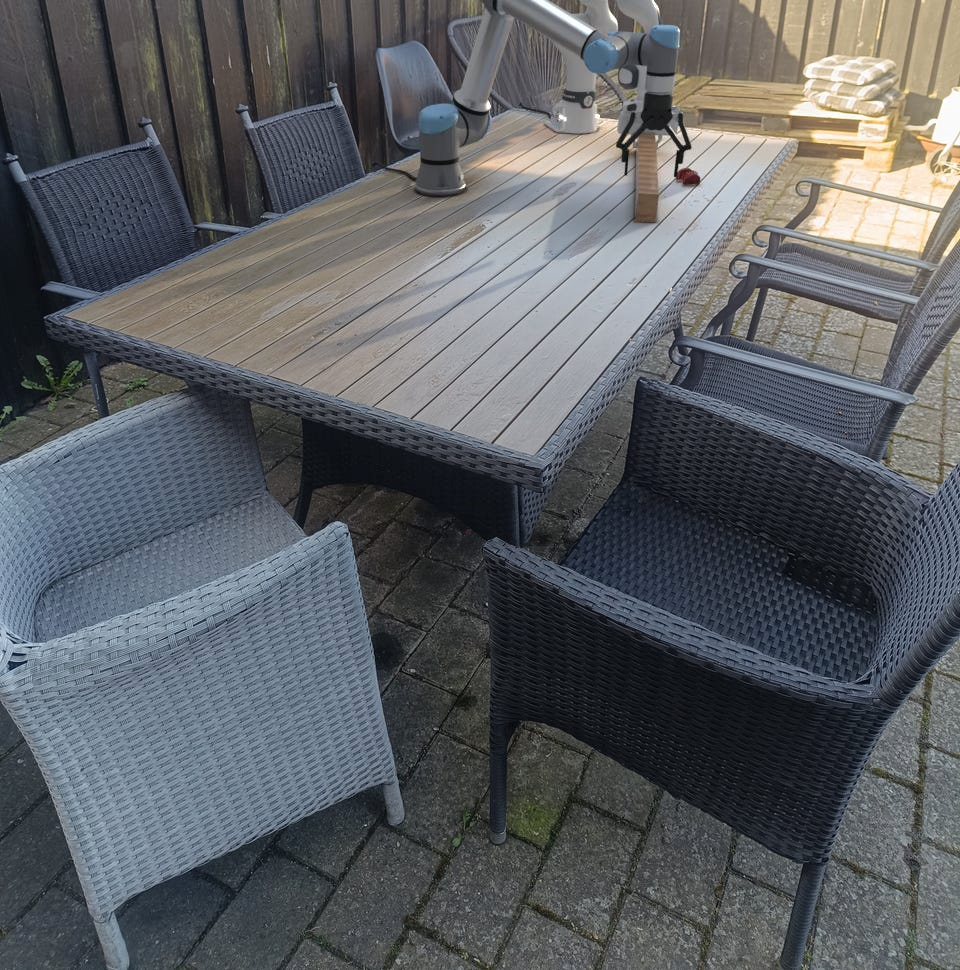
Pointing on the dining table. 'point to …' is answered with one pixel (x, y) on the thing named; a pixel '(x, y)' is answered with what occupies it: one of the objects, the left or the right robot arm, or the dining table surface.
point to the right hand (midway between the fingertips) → (645, 148)
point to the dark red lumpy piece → (688, 176)
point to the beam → (646, 179)
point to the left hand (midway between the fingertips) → (650, 175)
